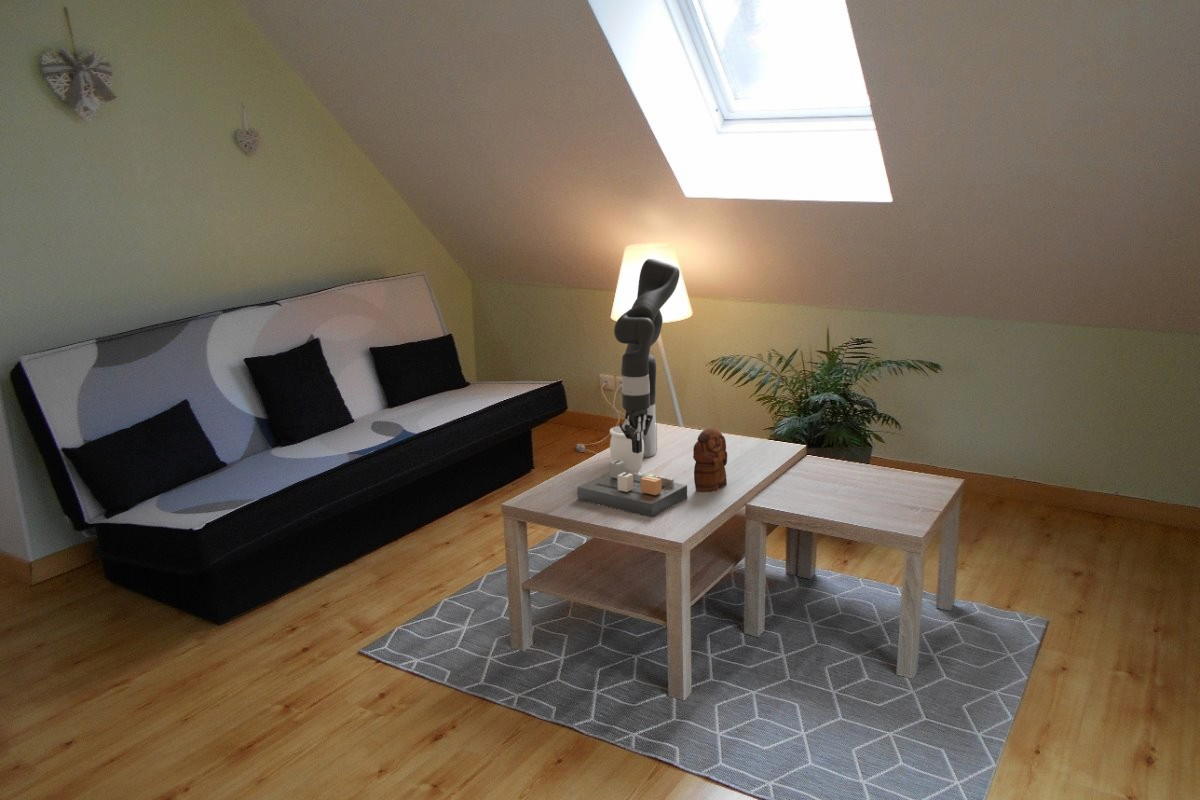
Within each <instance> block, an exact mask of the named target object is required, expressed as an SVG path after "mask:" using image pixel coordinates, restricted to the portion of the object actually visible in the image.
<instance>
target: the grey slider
mask: <svg viewBox="0 0 1200 800" xmlns="http://www.w3.org/2000/svg"><path fill="white" fill-rule="evenodd" d="M609 472H610V477H613V478H617V479H618V477H617V475H619V474H621V473H623V472H625V462H624V461H620V460H615V461H613V462H612V461H611V462H609Z"/></svg>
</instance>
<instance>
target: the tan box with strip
mask: <svg viewBox="0 0 1200 800" xmlns="http://www.w3.org/2000/svg"><path fill="white" fill-rule="evenodd" d="M641 492H643V493H647V494H652V495H657V494H659V493H661V492H662V485H661V479H660V478H657V477H656V478H655V477H651V476H645V477H643V478H641Z"/></svg>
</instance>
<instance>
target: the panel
mask: <svg viewBox="0 0 1200 800" xmlns="http://www.w3.org/2000/svg"><path fill="white" fill-rule="evenodd" d="M625 473H626V472H625ZM630 474H631V473H630ZM641 478H642V474H641V475H636V474H633V489H632V490H630V491H628V492H625V491H620V490H618V479H617V478H613V477H610V471H608V472H607V473H604V474H603V475H599V476H598V477H595V478H594V479H591V480H589V481H586V482H585V483H583V484H581V485H579V486H577V487H576V490H577V491H576V492H577V501H580V502H585V503H589V502H590V503H589V504H593V503H595V504H594V505H597V504H600V505H599V506H601V505H604V506H603V507H606V506H608V507H607V508H610V507H612V508H611V509H614V508H616V509H615V510H618V509H620V510H619V511H622V510H624V511H623V512H627V511H628V513H631V512H632V514H635V515H639V514H640V516H643V515H644V517H648V518H652V517H653V518H654V517H656V516H657V514H658V515H659V513H660V514H661V512H662V513H664V512H665V511H667V510H669V509H670V507H671V508H673V507H674V506H676V505H678V504H680V503H682V502H683V501H685V500H687V499H688V485H687V484H682V483H678V482H675V480H674V478H671V477H666V476H661V475H657V476H656V478H660V479H661V485H662V492H661V493H659V494H657V495H652V494H647V493H643V492H641ZM681 501H682V502H681ZM679 502H680V503H679ZM677 503H678V504H677ZM675 504H676V505H675ZM673 505H674V506H673ZM668 508H669V509H668ZM666 509H667V510H666Z"/></svg>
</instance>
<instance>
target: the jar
mask: <svg viewBox="0 0 1200 800" xmlns="http://www.w3.org/2000/svg"><path fill="white" fill-rule="evenodd" d="M609 435H611V437H610V442H609V451H610V457H611V462H613V461H615V460H620V461H624V462H625V472H626V473H631V474H636V475H641V476H642V473H641V472H640V471H641V469H642V465H643V462H644V460H643V459H644V457H643V454H644V443H643V439H642V452H640V453H638V454H637V453H633V452H632V440H631V439H627V438H626V436H625V435H624V433H623V432H622V430H621V428H620V425H617V426H613V427H611V428H610V429H609Z"/></svg>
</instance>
